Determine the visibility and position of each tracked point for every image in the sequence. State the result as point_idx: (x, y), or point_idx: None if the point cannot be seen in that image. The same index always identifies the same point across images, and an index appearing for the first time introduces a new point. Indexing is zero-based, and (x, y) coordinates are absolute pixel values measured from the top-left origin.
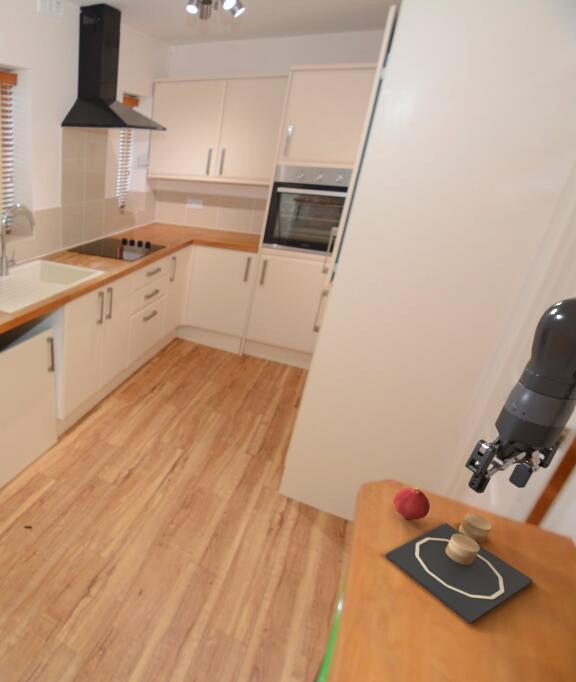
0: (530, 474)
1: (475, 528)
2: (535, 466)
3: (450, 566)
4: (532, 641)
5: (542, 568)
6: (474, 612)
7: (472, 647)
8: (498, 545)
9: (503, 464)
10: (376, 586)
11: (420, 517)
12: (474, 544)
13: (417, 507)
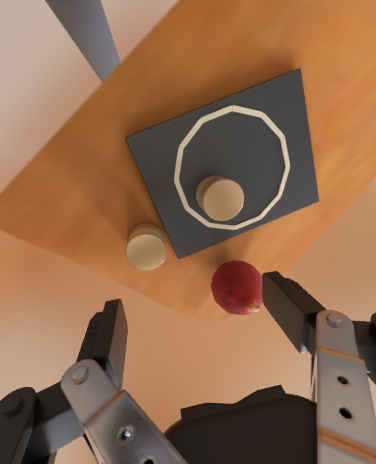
0: (101, 347)
1: (161, 238)
2: (91, 393)
3: (245, 173)
4: (225, 25)
5: (76, 168)
6: (283, 83)
7: (327, 29)
8: (117, 217)
9: (366, 384)
10: (367, 149)
11: (237, 261)
12: (212, 195)
13: (253, 274)
